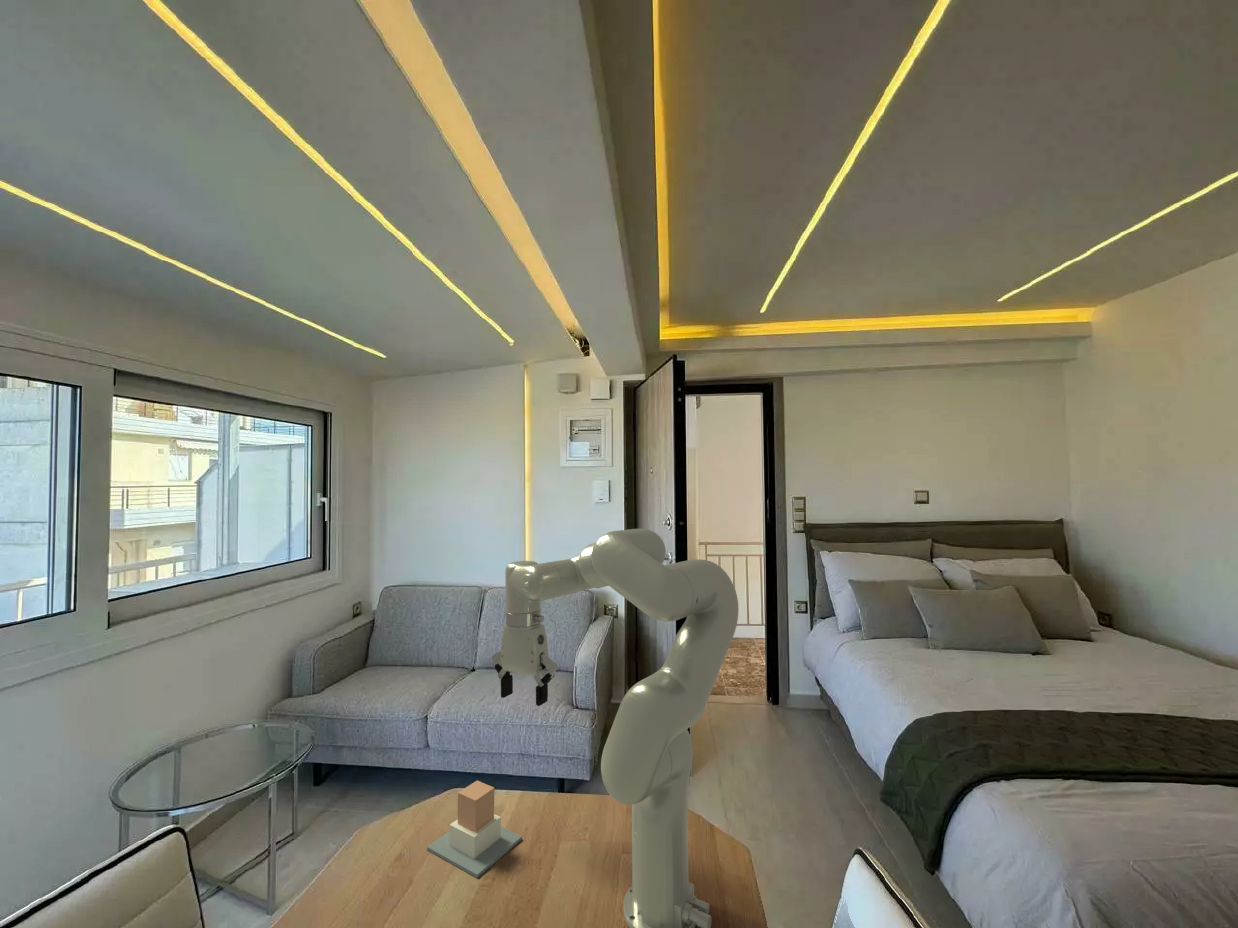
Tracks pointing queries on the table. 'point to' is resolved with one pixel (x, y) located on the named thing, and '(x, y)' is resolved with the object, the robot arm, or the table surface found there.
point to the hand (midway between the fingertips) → (523, 699)
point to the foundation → (475, 846)
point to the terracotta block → (475, 806)
